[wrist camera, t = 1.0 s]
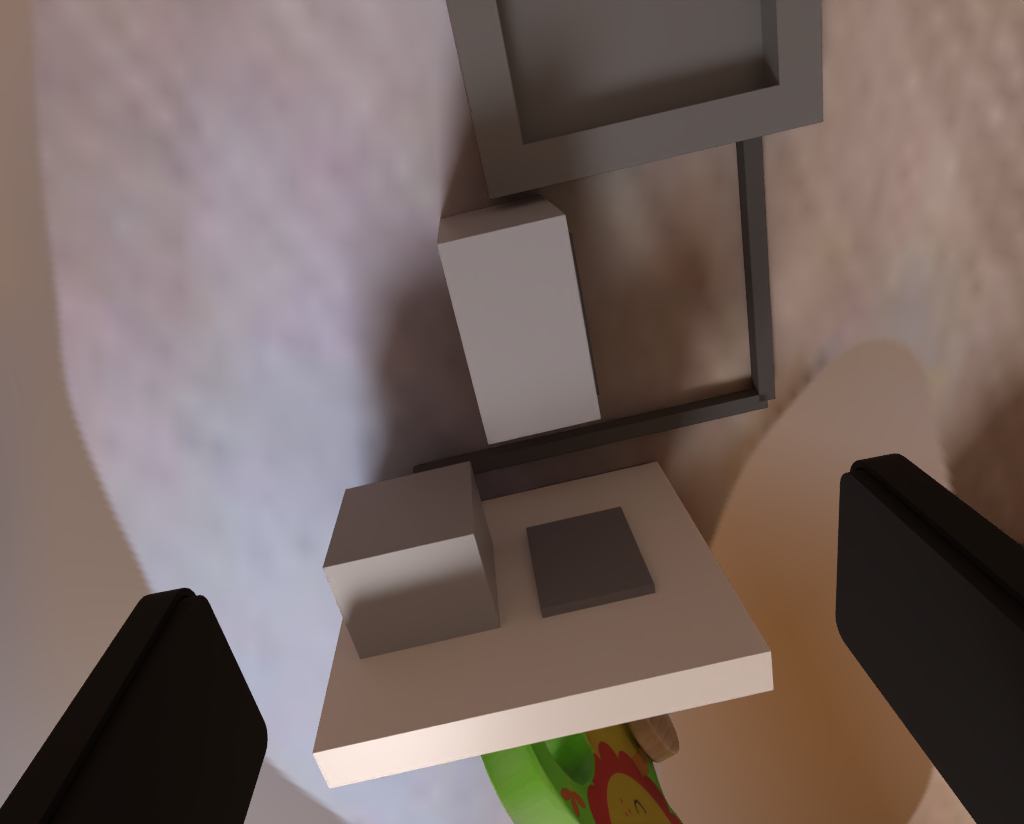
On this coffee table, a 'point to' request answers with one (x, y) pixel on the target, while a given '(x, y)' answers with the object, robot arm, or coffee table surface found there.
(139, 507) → the coffee table surface
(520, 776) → the toy lion
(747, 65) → the charging cradle
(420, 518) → the plate
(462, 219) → the grey rectangular block
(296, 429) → the coffee table surface
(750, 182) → the dark piece
